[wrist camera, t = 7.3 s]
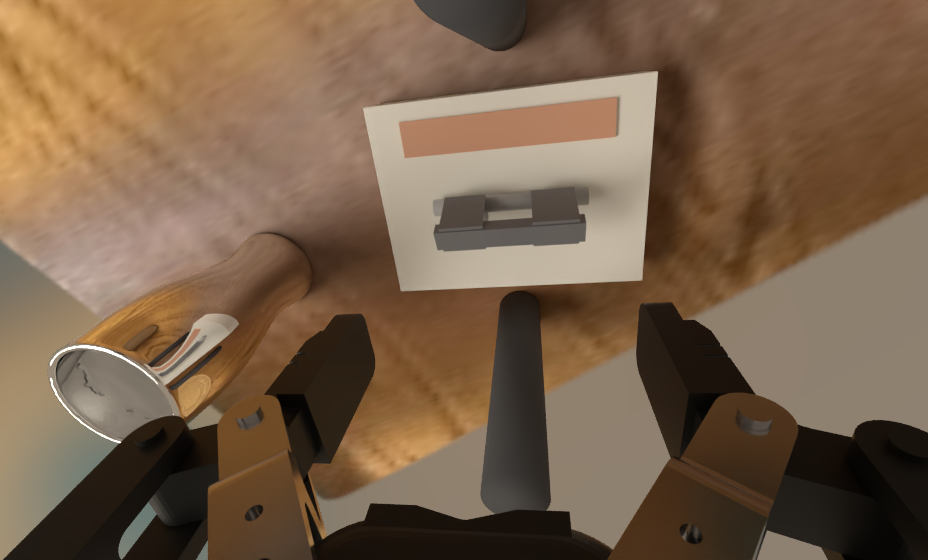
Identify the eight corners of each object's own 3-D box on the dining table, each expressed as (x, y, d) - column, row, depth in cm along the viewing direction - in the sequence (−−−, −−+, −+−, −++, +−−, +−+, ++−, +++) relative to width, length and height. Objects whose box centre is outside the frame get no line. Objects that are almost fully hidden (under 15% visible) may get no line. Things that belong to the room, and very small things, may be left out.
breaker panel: (378, 103, 27) (361, 108, 24) (643, 70, 24) (659, 71, 21) (411, 272, 32) (400, 292, 29) (631, 261, 29) (642, 281, 26)
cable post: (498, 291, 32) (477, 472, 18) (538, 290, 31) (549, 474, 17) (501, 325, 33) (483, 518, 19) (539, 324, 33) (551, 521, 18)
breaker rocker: (433, 192, 25) (423, 231, 23) (587, 179, 24) (596, 219, 21) (438, 214, 26) (429, 253, 24) (586, 202, 25) (594, 243, 22)
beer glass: (319, 238, 32) (173, 361, 18) (317, 314, 35) (190, 465, 22) (231, 217, 32) (23, 325, 19) (237, 295, 35) (62, 433, 22)
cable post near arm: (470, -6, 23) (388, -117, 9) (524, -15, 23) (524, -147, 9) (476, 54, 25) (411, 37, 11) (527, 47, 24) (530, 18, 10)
